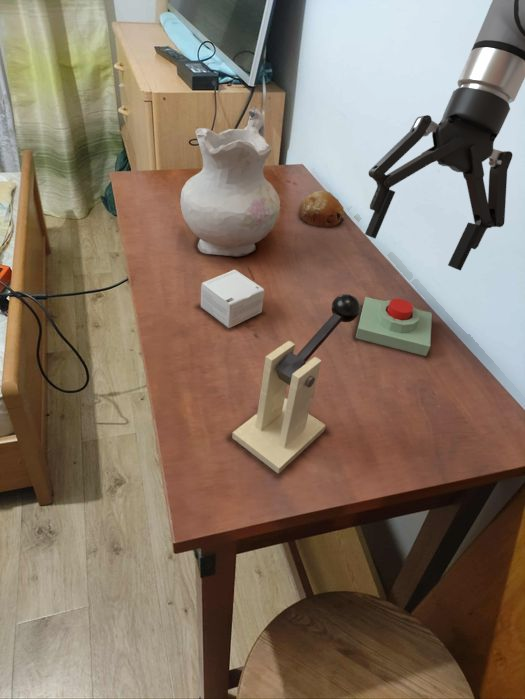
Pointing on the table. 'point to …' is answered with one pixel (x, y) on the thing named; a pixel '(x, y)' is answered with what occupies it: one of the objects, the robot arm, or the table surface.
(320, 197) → the bread roll
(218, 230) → the ceramic pitcher
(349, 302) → the lever
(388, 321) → the button block
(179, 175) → the table surface
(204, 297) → the small box
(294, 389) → the cream lever bracket
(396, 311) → the button
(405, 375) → the table surface
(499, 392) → the table surface
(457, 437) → the table surface
